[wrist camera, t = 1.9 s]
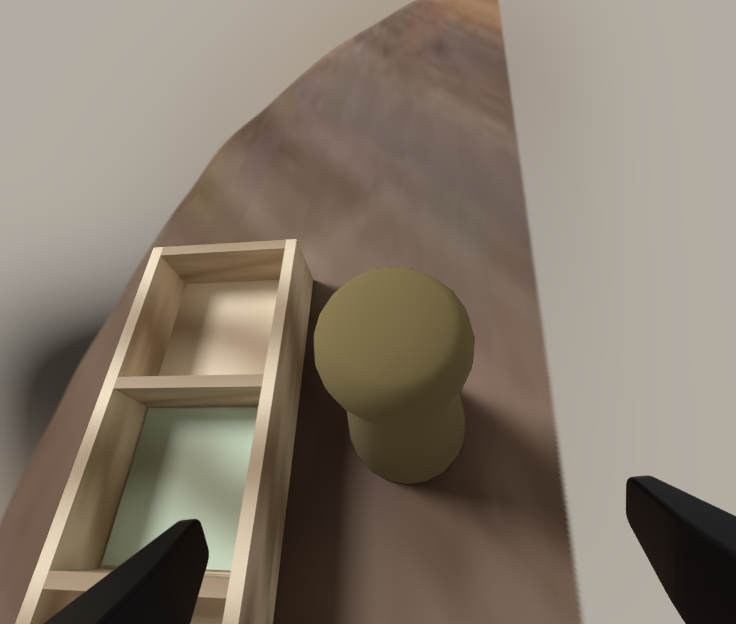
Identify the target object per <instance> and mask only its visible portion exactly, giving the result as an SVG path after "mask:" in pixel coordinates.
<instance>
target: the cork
mask: <svg viewBox="0 0 736 624" xmlns="http://www.w3.org/2000/svg"><path fill="white" fill-rule="evenodd" d="M474 342H475V337H474V334H473V330H472V327H471V323H470V320H469V317H468V314H467V311H466V308H465V307H464V306H463V304H462V303H461V302H460V300H459V299H458V297H457V296H456V295H455V293H454V292H453V291H452V290H451V289H450V288H448V287H447V286H445V285H444V284H443V283H441V282H440V281H439V280H437V279H436V278H434V277H432V276H430V275H428V274H425V273H422V272H419V271H416V270H414V269H411V268H398V267H387V268H381V269H375V270H370V271H368V272H365V273H363V274H361V275H359V276H357V277H354V278H352V279H350V280H349V281H348V282H347V283H346V284H344V285H343V286H342V287H341V288H340V289H339V290H337V291H336V292H335V293H334V294H333V295H332V296H331V298H330V299H329V301H328V302H327V304H326V305H325V307H324V308H323V310H322V311H321V313H320V315H319V318H318V322H317V325H316V329H315V332H314V354H315V366H316V368H317V370H318V373H319V375H320V377H321V380H322V382H323V384H324V386H325V388H326V389H327V391H328V392H329V394H330V395H331V396H332V397H333V398H334V399H335V400H336V401H337V402H338V403H339V404H340V405H341V406H342V407H343V408H344V409H345V410H346V411H347V417H348V424H349V431H350V438H351V442H352V444H353V446H354V448H355V451H356V453H357V455H358V457H359V458H360V459H361V461H362V462H363V463H364V464H365V465H366V466H367V467H368V468H369V469H370V470H371V471H372V472H374V473H375V474H377V475H379V476H381V477H382V478H384V479H386V480H388V481H393V482H398V483H404V484H412V483H418V482H425V481H428V480H430V479H432V478H434V477H435V476H437V475H439V474H441V473H443V472H444V471H445V470H446V469H447V468H448V467H449V466H450V465H451V464H452V463H453V461H454V460H455V459H456V458H457V456H458V454H459V452H460V449H461V447H462V445H463V442H464V439H465V426H466V420H465V415H464V410H463V405H462V400H461V396H460V392H461V390H462V388H463V386H464V384H465V382H466V379H467V377H468V375H469V373H470V371H471V368H472V364H473V356H474Z"/></svg>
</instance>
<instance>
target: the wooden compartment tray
mask: <svg viewBox="0 0 736 624" xmlns="http://www.w3.org/2000/svg"><path fill="white" fill-rule="evenodd" d="M312 287H313V277H312V275H311V272H310V270H309V268H308V265H307V263H306V261H305V258H304V256H303V253H302V251H301V249H300V246H299V244H298V241H297V239H292V240H275V241H259V242H242V243H225V244H208V245H192V246H175V247H158V248H153V251H152V254H151V257H150V259H149V262H148V265H147V267H146V270H145V273H144V276H143V278H142V281H141V284H140V286H139V289H138V292H137V295H136V297H135V300H134V303H133V305H132V308H131V311H130V314H129V316H128V319H127V322H126V324H125V327H124V330H123V333H122V335H121V338H120V341H119V344H118V346H117V349H116V352H115V354H114V357H113V360H112V363H111V365H110V368H109V371H108V373H107V376H106V379H105V382H104V384H103V387H102V390H101V392H100V395H99V398H98V401H97V403H96V406H95V409H94V411H93V414H92V417H91V420H90V422H89V425H88V428H87V430H86V433H85V436H84V439H83V441H82V444H81V447H80V449H79V452H78V455H77V458H76V460H75V463H74V466H73V468H72V471H71V474H70V477H69V479H68V482H67V485H66V487H65V490H64V493H63V496H62V498H61V501H60V504H59V506H58V509H57V512H56V515H55V517H54V520H53V523H52V526H51V528H50V531H49V534H48V536H47V539H46V542H45V545H44V547H43V550H42V553H41V555H40V558H39V561H38V564H37V566H36V569H35V572H34V574H33V577H32V580H31V583H30V585H29V588H28V591H27V593H26V596H25V599H24V602H23V604H22V607H21V610H20V612H19V615H18V618H17V621H16V623H15V624H43V623H44V622H46V621H47V620H48V619H50V618H51V617H52V616H54V615H55V614H56V613H58V612H59V611H60V610H62V609H63V608H64V607H65V606H67V605H68V604H69V603H71V602H72V601H73V600H75V599H76V598H77V597H79V596H80V595H81V594H83V593H84V592H85V591H87V590H88V589H89V588H91V587H92V586H93V585H95V584H96V583H97V582H99V581H100V580H101V579H102V578H104V577H105V576H106V575H108V574H109V573H110V572H112V571H113V570H114V569H116V568H117V567H118V566H120V565H121V564H122V563H124V562H125V561H126V560H128V559H129V558H130V557H132V556H133V555H134V554H135V553H137V552H138V551H139V550H141V549H142V548H143V547H145V546H146V545H147V544H149V543H150V542H151V541H153V540H154V539H155V538H157V537H158V536H159V535H161V534H162V533H163V532H165V531H166V530H167V529H169V528H170V527H171V526H172V525H174V524H175V523H176V522H178V521H180V520H187V519H198V520H199V521H200V522H201V524H202V528H203V531H204V535H205V538H206V541H207V545H208V549H209V559H208V564H207V567H206V571H205V574H204V578H203V581H202V585H201V588H200V592H199V595H198V599H197V602H196V606H195V609H194V613H193V616H192V620H191V623H190V624H273V618H274V610H275V601H276V593H277V584H278V576H279V567H280V559H281V550H282V542H283V533H284V525H285V516H286V508H287V499H288V491H289V482H290V474H291V465H292V457H293V448H294V440H295V431H296V423H297V414H298V406H299V398H300V389H301V381H302V372H303V364H304V355H305V347H306V338H307V330H308V321H309V313H310V304H311V296H312Z"/></svg>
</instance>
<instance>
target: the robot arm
mask: <svg viewBox="0 0 736 624" xmlns="http://www.w3.org/2000/svg"><path fill="white" fill-rule="evenodd" d="M626 515H627V519H628V521H629V524H630V526H631V528H632V529H633V532H634V533H635V535H636V537H637V539H638V541H639V543H640V544H641V546H642V548H643V550H644V552H645V554H646V556H647V557H648V559H649V561H650V563H651V565H652V567H653V568H654V570H655V572H656V574H657V576H658V578H659V580H660V582H661V583H662V585H663V587H664V589H665V591H666V593H667V594H668V596H669V598H670V600H671V601H672V603H673V605H674V606H675V608H676V609H677V611H678V612H679V614H680V616H681V617H682V619H683V620H684V622H685V623H686V624H736V516H734V515H732V514H730V513H728V512H726V511H724V510H721V509H719V508H717V507H715V506H713V505H711V504H709V503H707V502H705V501H702V500H700V499H698V498H696V497H694V496H692V495H690V494H688V493H686V492H684V491H682V490H680V489H678V488H675V487H673V486H671V485H669V484H667V483H665V482H663V481H661V480H658V479H656V478H654V477H652V476H636V477H630V478H629V479H628V480H627V484H626ZM208 559H209V549H208V545H207V541H206V538H205V535H204V531H203V528H202V524H201V522H200V521H199V520H198V519H187V520H180V521H178V522H176V523H175V524H174V525H172V526H171V527H170V528H169V529H167V530H166V531H165V532H163V533H162V534H161V535H159V536H158V537H157V538H155V539H154V540H153V541H151V542H150V543H149V544H147V545H146V546H145V547H143V548H142V549H141V550H139V551H138V552H137V553H135V554H134V555H133V556H132V557H130V558H129V559H128V560H126V561H125V562H124V563H122V564H121V565H120V566H118V567H117V568H116V569H114V570H113V571H112V572H110V573H109V574H108V575H106V576H105V577H104V578H102V579H101V580H100V581H99V582H97V583H96V584H95V585H93V586H92V587H91V588H89V589H88V590H87V591H85V592H84V593H83V594H81V595H80V596H79V597H77V598H76V599H75V600H73V601H72V602H71V603H69V604H68V605H67V606H65V607H64V608H63V609H62V610H60V611H59V612H58V613H56V614H55V615H54V616H52V617H51V618H50V619H48V620H47V621H46V622H44V623H43V624H190V623H191V620H192V616H193V613H194V609H195V606H196V602H197V599H198V595H199V592H200V588H201V585H202V581H203V578H204V574H205V571H206V567H207V564H208Z"/></svg>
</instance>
